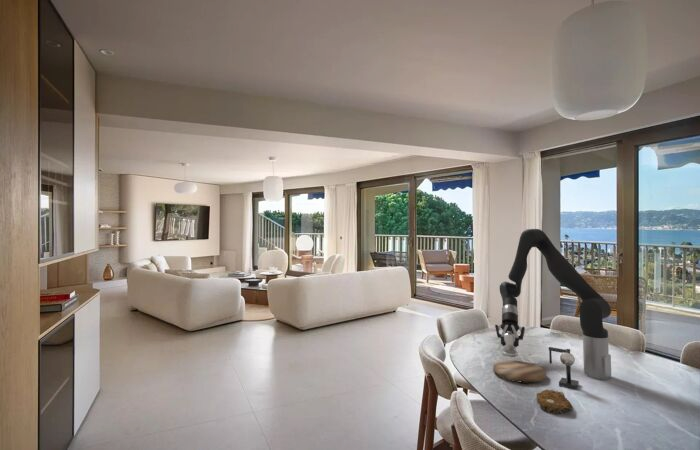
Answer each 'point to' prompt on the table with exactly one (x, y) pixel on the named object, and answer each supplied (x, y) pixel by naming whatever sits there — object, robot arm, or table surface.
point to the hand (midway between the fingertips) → (509, 345)
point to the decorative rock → (553, 401)
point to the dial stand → (568, 361)
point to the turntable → (519, 371)
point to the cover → (509, 344)
